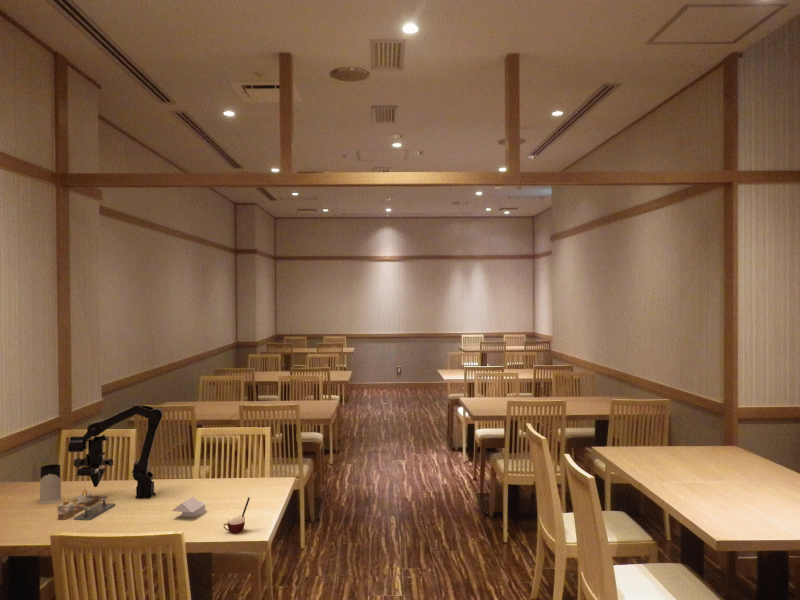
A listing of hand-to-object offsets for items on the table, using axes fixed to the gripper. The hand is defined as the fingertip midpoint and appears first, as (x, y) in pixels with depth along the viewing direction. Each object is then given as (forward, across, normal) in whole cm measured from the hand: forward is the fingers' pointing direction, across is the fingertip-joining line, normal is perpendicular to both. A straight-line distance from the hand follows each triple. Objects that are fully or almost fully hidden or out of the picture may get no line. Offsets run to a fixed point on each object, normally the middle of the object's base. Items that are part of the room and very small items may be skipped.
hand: (95, 486), depth 266 cm
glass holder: (+6, -1, -21) cm, 22 cm away
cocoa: (+6, +32, +74) cm, 81 cm away
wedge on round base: (+6, +16, +49) cm, 52 cm away
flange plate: (+6, +15, +9) cm, 18 cm away
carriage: (+5, +9, +4) cm, 11 cm away
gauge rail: (+6, +12, +4) cm, 14 cm away
